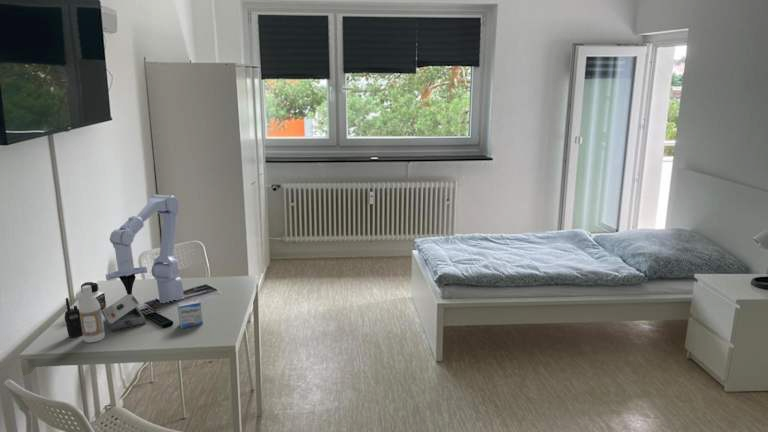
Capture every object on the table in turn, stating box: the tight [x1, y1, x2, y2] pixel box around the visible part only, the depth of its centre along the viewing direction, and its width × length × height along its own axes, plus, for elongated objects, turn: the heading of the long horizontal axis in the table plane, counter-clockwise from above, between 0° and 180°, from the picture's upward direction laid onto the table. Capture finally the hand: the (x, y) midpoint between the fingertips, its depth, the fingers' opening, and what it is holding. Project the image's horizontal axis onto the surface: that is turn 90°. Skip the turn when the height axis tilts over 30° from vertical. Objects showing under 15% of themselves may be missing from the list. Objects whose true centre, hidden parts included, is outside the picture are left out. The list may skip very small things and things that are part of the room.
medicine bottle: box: [77, 281, 108, 312], centre depth 237 cm, size 7×7×12 cm
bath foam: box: [78, 285, 106, 344], centre depth 210 cm, size 7×7×20 cm
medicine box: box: [176, 299, 204, 329], centre depth 222 cm, size 8×4×9 cm, turn 117°
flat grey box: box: [103, 306, 147, 333], centre depth 226 cm, size 12×19×3 cm, turn 34°
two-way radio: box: [64, 297, 83, 339], centre depth 214 cm, size 6×4×15 cm
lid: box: [101, 293, 141, 325], centre depth 224 cm, size 12×14×2 cm
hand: (129, 293), depth 228 cm, fingers closed
